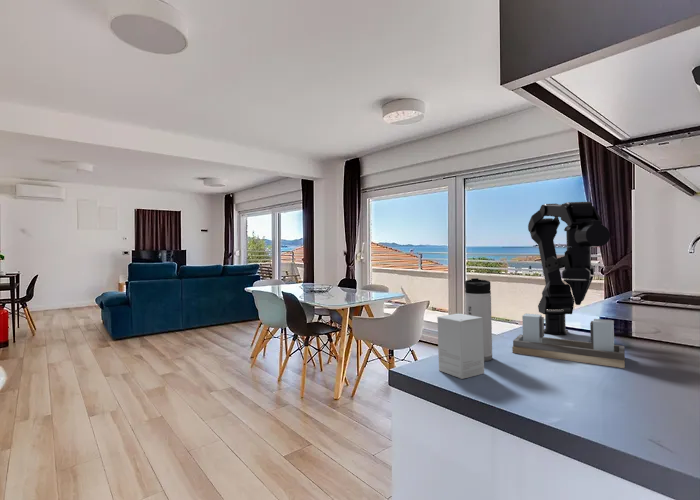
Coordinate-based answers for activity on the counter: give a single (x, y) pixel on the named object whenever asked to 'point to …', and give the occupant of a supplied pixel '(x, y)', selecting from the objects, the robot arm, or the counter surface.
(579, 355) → the rail
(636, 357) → the counter surface
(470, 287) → the travel mug
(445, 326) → the supplement box
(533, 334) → the block
